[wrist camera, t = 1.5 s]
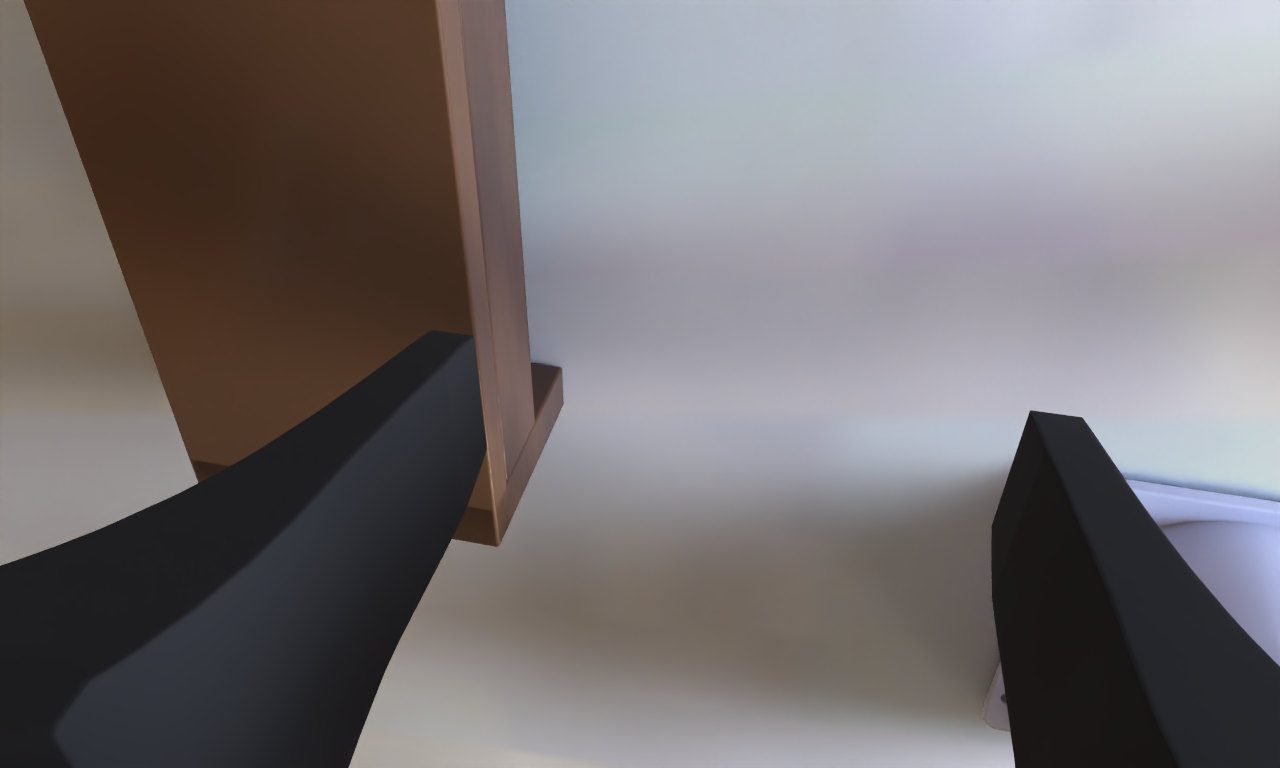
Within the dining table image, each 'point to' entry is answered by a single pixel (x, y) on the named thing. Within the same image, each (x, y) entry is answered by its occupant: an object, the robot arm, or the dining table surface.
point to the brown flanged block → (308, 207)
